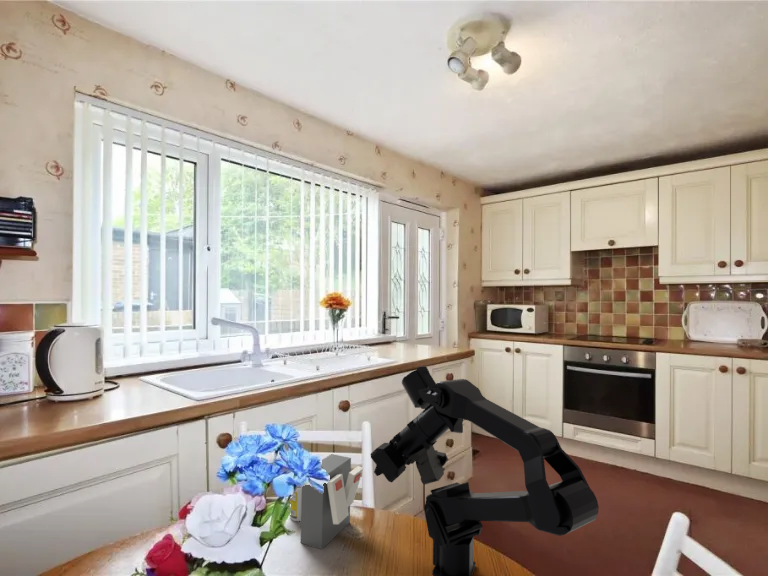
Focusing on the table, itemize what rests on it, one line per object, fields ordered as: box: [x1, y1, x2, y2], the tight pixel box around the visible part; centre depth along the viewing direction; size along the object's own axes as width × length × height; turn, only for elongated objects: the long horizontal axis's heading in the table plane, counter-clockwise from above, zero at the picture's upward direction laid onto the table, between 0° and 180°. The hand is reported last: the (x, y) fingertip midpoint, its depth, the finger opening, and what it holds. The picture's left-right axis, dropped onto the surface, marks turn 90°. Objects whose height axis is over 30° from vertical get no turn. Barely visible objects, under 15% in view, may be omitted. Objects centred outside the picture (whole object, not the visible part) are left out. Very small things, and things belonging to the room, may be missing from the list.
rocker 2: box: [345, 465, 364, 507], centre depth 87 cm, size 2×4×8 cm, turn 155°
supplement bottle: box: [289, 487, 302, 522], centre depth 93 cm, size 5×5×10 cm
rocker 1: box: [327, 474, 349, 524], centre depth 82 cm, size 2×4×8 cm, turn 155°
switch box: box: [300, 453, 352, 550], centre depth 87 cm, size 5×11×14 cm, turn 155°
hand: (376, 473), depth 85 cm, fingers closed
